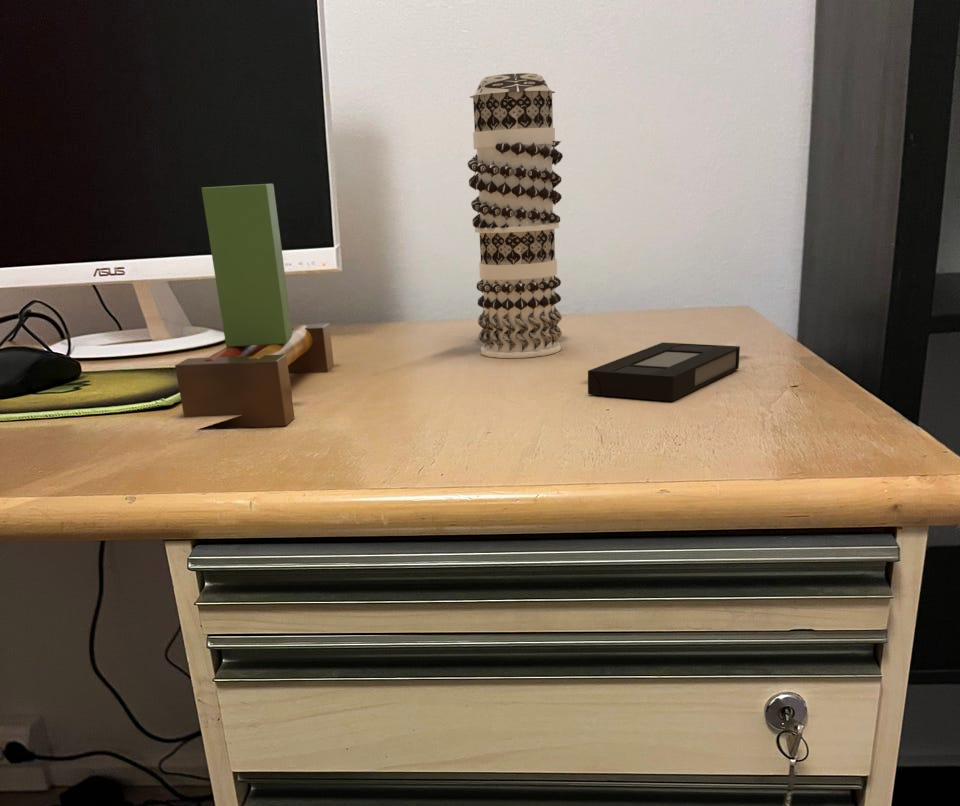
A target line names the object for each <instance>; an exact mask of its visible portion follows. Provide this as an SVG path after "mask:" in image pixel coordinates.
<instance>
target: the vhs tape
mask: <svg viewBox="0 0 960 806" xmlns="http://www.w3.org/2000/svg"><path fill="white" fill-rule="evenodd" d="M740 353H741V346H740V345H739V346H738V345H720V344H702V343H681V342H680V343H679V342H664V341H663V342H660V343H657V344H654V345H652V346H650V347H649V346H648V347H647V348H645V349H644V348H643V349H641V350H639V351H636V352H633V353H631V354H629V355H626V356H622V357H620V358H617V359H615V360H612V361H610V362H608V363H604V364H602V365H598V366H597V367H594V368H591V369H588V370H587V394H588V395H593V396H605V397H619V398H627V399H628V398H630V399H640V400H653V401H663V402H664V401H666V402H673V401H676V400H677V399H679V398H683V396H685V395H687V394H690V393H692V392H694V391H696V390H698V389H700V388H702V387H704V386H706V385H708V384H710V383H712V382H714V381H716V380H719V379H721V378H722V377H724V376H727V375H728V374H730V373H733V372H735V371H737V370H739V369H740Z"/></svg>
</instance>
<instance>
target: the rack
mask: <svg viewBox="0 0 960 806" xmlns="http://www.w3.org/2000/svg"><path fill="white" fill-rule="evenodd" d="M291 326H292V336H291V337H290V339H289V340H288V342H287V343H283V344H268V345H252V346H236V347H226V346H225V347H224V348H223V349H221V350H219V351H217V352H215V353H213V354H212V355H210V356H209V357H189V358H186V359H184V360H182V361H180V362H179V363H177V364H175V365H174V368H175V374H176V379H177V386H178V391H179V396H180V402H181V407H182V413H183V418H203V417H228V416H230V417H231V416H232V418H228V419H225V420H222V421H219V422H216V423H213V424H210V425H206V426H203V427H201V428H199V430H221V429H223V430H224V429H248V428H252V429H253V428H276V427H278V428H279V427H287V426H288V425H289V424H290V423H291V421H293V420H294V419H295V411H294V403H293V394H292V388H291V387H292V386H291V380H290V375H291V374H292V375H293V374H312V373H313V374H314V373H315V374H316V373H329V372H330V371H331V370H332V369H333V368H334V367H335V363H334V354H333V345H332V337H331V326H330V323H329V322H323V323H322V322H321V323H297V324H291ZM233 416H235V417H233Z"/></svg>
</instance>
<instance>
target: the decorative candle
mask: <svg viewBox="0 0 960 806" xmlns="http://www.w3.org/2000/svg"><path fill="white" fill-rule="evenodd" d="M555 93H556V91H553V90H552V89H550V88H549V86H548V84H547V82H546V80H545V79H544V78H543V76H542V75H541V74H539V73H531V72H530V73H529V72H524V73H523V72H521V73H519V72H518V73H503V74H495V75H489V76H485V77H483V78H482V79H481V80H480V82H479V84H478V87H477V89H476V91H475V93H474V94H472V95H471V96H469V99H472V103H473V121H474V123H473V124H474V132H472V138H473V139H472V140H473V149H474V150H476V153H475V155H473V156H472V158H470V159H469V160H468V161H467V167H468V169H469V170H470V171H471V172H473V173H474V174H473V176H471V177H470V178H469V179H468V186H469V187H470V188H472V189H474V191H475V192H476V191H478V195H477V196H476V197H475V199H473V200H472V201H471V203H470V206H471V208H472V210H473V211H475V212H476V213H477V215H475V216H474V217H473V218H472V226H473V227H474V233H477V234H479V251H480V262H479V264H478V266H479V267H478V268H479V279H480V280H479V281H478V282H476V290H478V291H479V292H481V293H482V295H481V296H480V297H479V298H478V299H477V306H478V307H481V308H482V309H483V310H482V313H481V314H480V315H479V316H478V317H477V324H478V326H479V327H480V328H482V329H481V330H480V331H479V333H478V340H479V342H481V343H482V344H483V346H481V347H480V355H482V356H484V357H490V358H498V359H523V358H525V359H526V358H535V357H543V356H548V355H553V354H556V353H558V352H560V351H561V349H562V347H561V344H560V343H559V342H557V341H558V339H559V338H560V337H562V334H563V333H562V330H561V327H559V325H558V324H559V323H560V322H561V321H562V319H563V316H562V314H561V312H560V311H559V310H558V309H557V308H556V305H557V304H558V303H559V302H561V301H562V297H561V296H560V294H559V293H557V291H555V289H557V288H559V287H560V286H561V284H562V281H561V279H560V278H559V277H558V276H557V275H558V260H557V258H556V245H555V244H556V243H555V241H556V239H555V232H556V231H555V229H559V228H560V222H561V216H560V215H558V214H556V213H555V212H554V207H555V206H556V205H557V204H558V203H559V202H560V201H561V200H562V197H563V196H562V194H561V193H559V192H558V191H557V190H556V189H555V188H556V187H558V185H559V184H561V182H562V177H561V175H559V174H558V173H556V171H555V170H553V165H554V166H557V164H559V163H560V162H561V161H562V159H563V157H564V155H563V153H562V152H561V151H559V150H558V149H557V148H556V147H557V146H559V145H560V144H561V142H562V140H556V128H555V127H554V122H553V121H554V120H553V119H554V118H553V115H554V114H553V112H554V111H553V110H554V109H553V94H555Z"/></svg>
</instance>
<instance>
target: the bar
mask: <svg viewBox="0 0 960 806" xmlns="http://www.w3.org/2000/svg"><path fill="white" fill-rule="evenodd" d="M201 192H202V193H201V194H202V201H203V206H204V207H203V208H204V213H205V220H206V226H207V232H208V239H209V245H210V253H211V258H212V264H213V265H212V266H213V271H214V277H215V284H216V290H217V296H218V302H219V310H220V317H221V322H222V329H223V335H224V341H225V348H226V347H236V346H252V345H268V344H283V343H287V342H288V340H289V339H290V337H291V336H292V326H291V325H292V320H291V311H290V303H289V295H288V288H287V280H286V272H285V271H286V270H285V266H284V265H285V263H284V257H283V248H282V247H283V246H282V242H281V241H282V240H281V232H280V225H279V216H278V208H277V201H276V200H277V199H276V193H275V185H274V183H260V184H258V183H257V184H241V185H223V186H206V187H201Z"/></svg>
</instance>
